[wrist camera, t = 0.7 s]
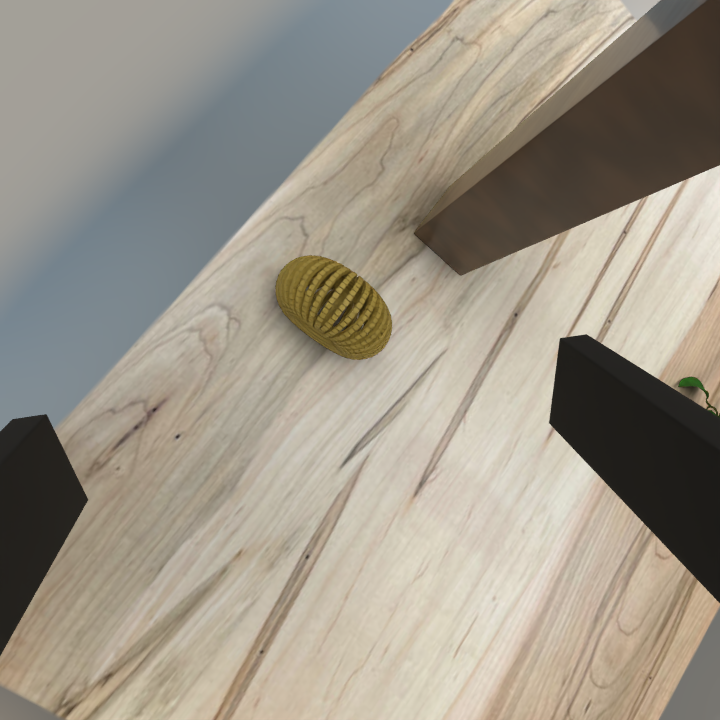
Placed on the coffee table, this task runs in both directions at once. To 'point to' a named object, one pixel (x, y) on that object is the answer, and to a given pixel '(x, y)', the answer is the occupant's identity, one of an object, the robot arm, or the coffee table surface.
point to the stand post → (593, 141)
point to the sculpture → (334, 306)
